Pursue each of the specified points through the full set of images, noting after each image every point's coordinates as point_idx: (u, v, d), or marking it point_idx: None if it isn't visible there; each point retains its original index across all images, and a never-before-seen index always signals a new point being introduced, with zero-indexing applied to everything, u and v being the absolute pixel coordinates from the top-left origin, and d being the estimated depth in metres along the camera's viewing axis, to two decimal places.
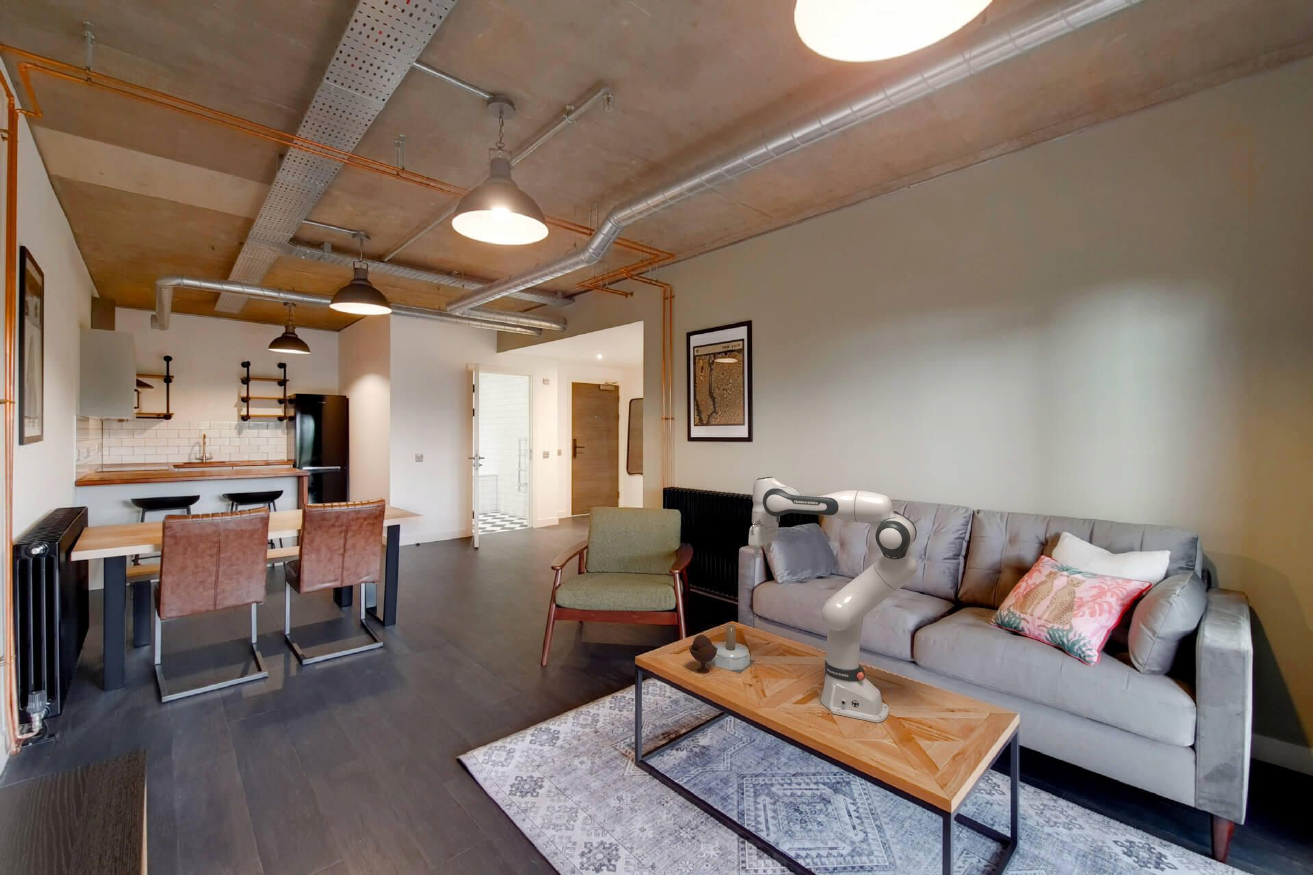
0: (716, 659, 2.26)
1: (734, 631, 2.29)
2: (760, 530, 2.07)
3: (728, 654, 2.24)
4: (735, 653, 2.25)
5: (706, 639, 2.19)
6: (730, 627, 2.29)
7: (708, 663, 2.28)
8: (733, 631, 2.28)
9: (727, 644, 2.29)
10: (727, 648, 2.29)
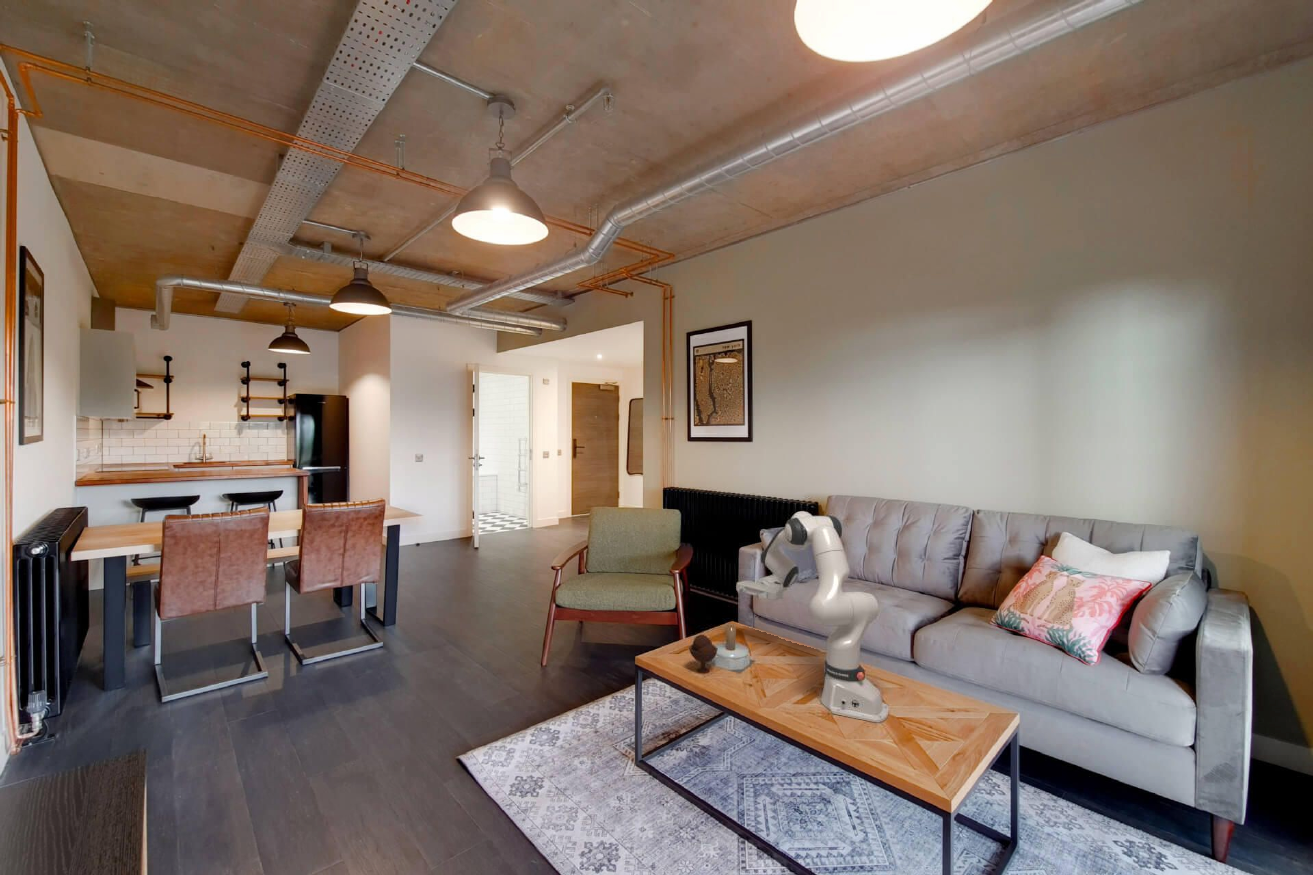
0: (716, 659, 2.26)
1: (734, 631, 2.29)
2: (748, 581, 2.51)
3: (728, 654, 2.24)
4: (735, 653, 2.25)
5: (706, 639, 2.19)
6: (730, 627, 2.29)
7: (708, 663, 2.28)
8: (733, 631, 2.28)
9: (727, 644, 2.29)
10: (727, 648, 2.29)
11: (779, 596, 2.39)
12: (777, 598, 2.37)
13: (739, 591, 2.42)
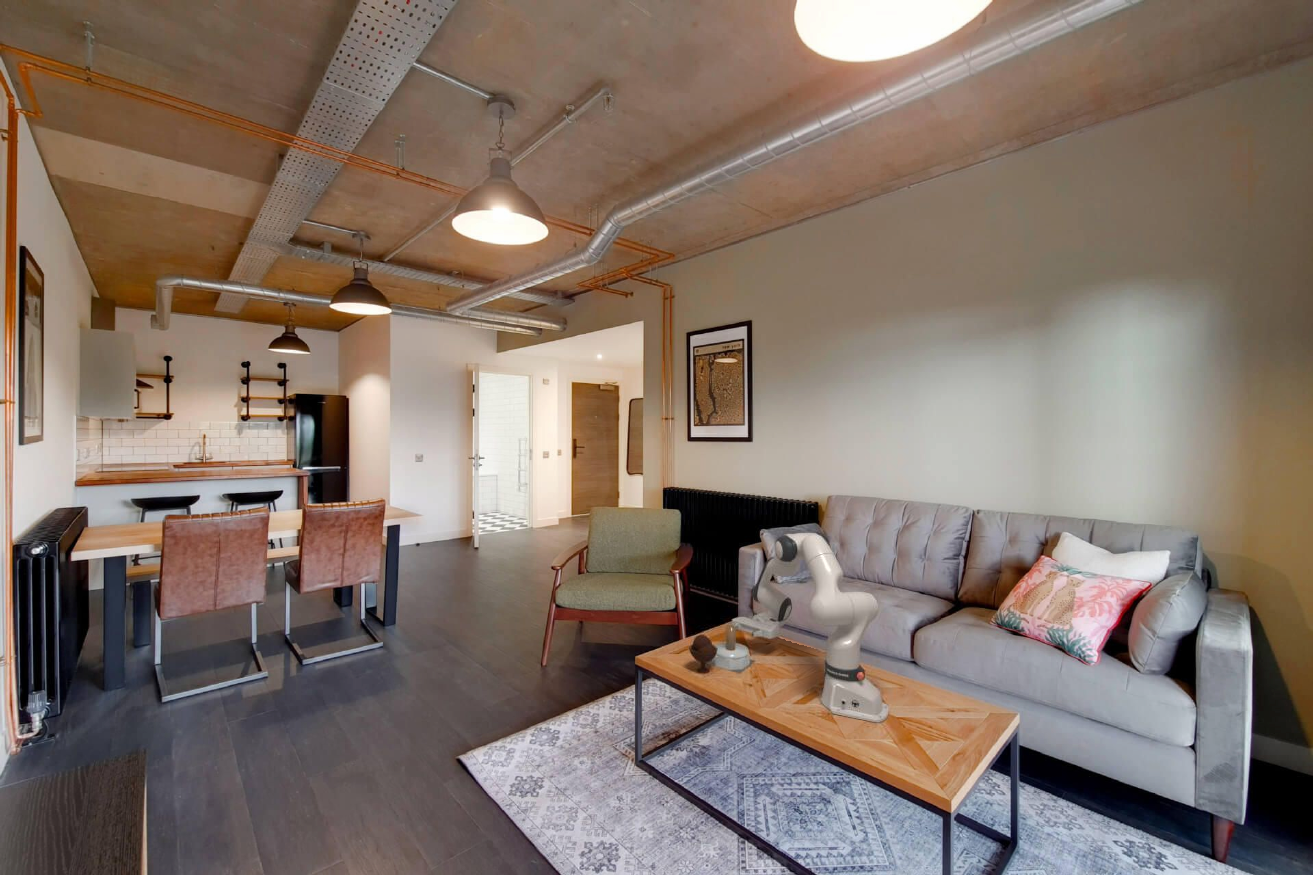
0: (716, 659, 2.26)
1: (734, 631, 2.29)
2: (744, 617, 2.49)
3: (728, 654, 2.24)
4: (735, 653, 2.25)
5: (706, 639, 2.19)
6: (730, 627, 2.29)
7: (708, 663, 2.28)
8: (733, 631, 2.28)
9: (727, 644, 2.29)
10: (727, 648, 2.29)
11: (775, 634, 2.36)
12: (773, 636, 2.35)
13: None
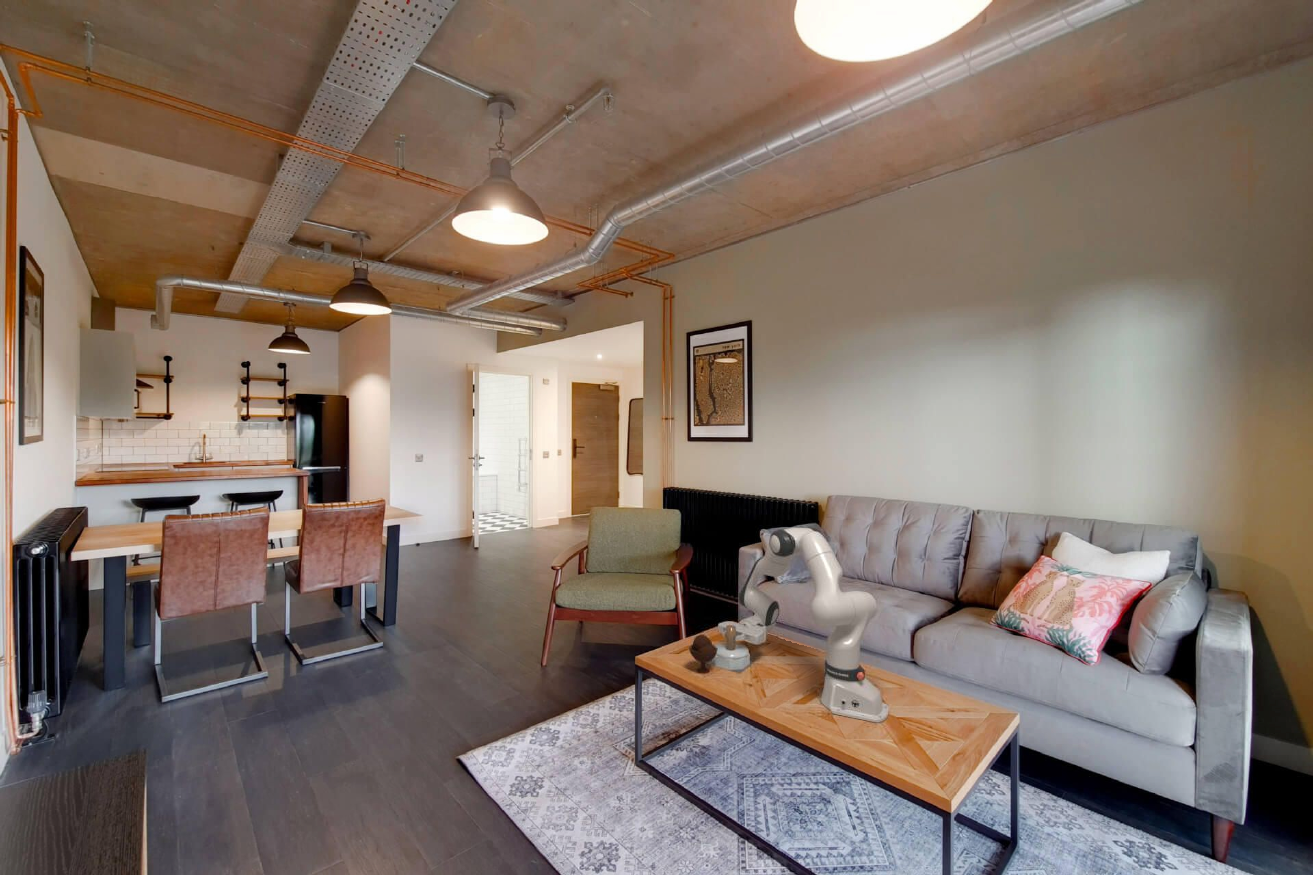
0: (716, 659, 2.26)
1: (734, 631, 2.29)
2: (730, 622, 2.42)
3: (728, 654, 2.24)
4: (735, 653, 2.25)
5: (706, 639, 2.19)
6: (730, 627, 2.29)
7: (708, 663, 2.28)
8: (733, 631, 2.28)
9: (727, 644, 2.29)
10: (727, 648, 2.29)
11: (762, 639, 2.29)
12: (759, 642, 2.28)
13: (724, 635, 2.31)
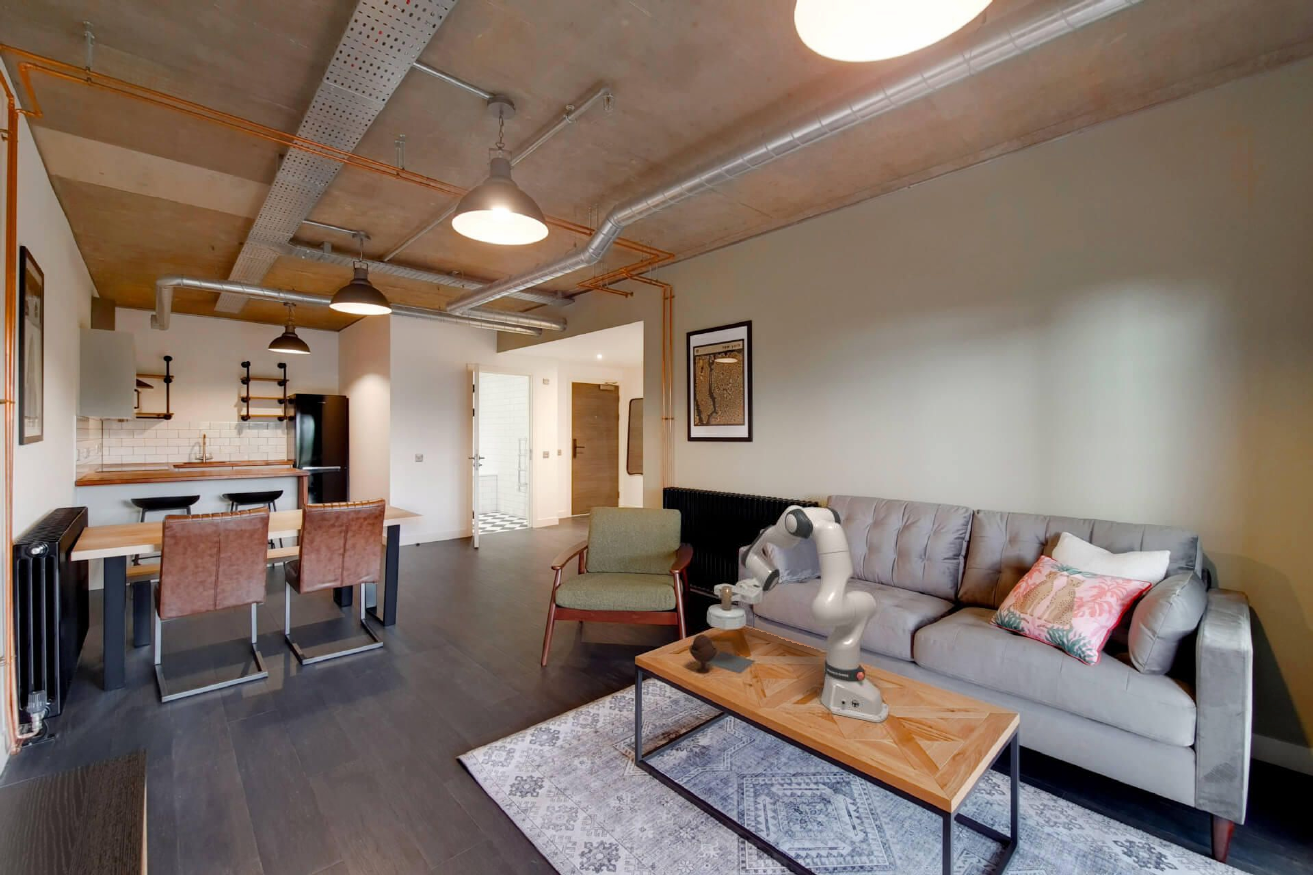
0: (712, 619, 2.24)
1: (730, 591, 2.27)
2: (727, 584, 2.40)
3: (724, 614, 2.22)
4: (731, 613, 2.23)
5: (706, 639, 2.19)
6: (726, 587, 2.27)
7: (708, 663, 2.28)
8: (729, 591, 2.26)
9: (723, 604, 2.27)
10: (723, 608, 2.27)
11: (758, 599, 2.27)
12: (755, 602, 2.26)
13: (720, 596, 2.29)
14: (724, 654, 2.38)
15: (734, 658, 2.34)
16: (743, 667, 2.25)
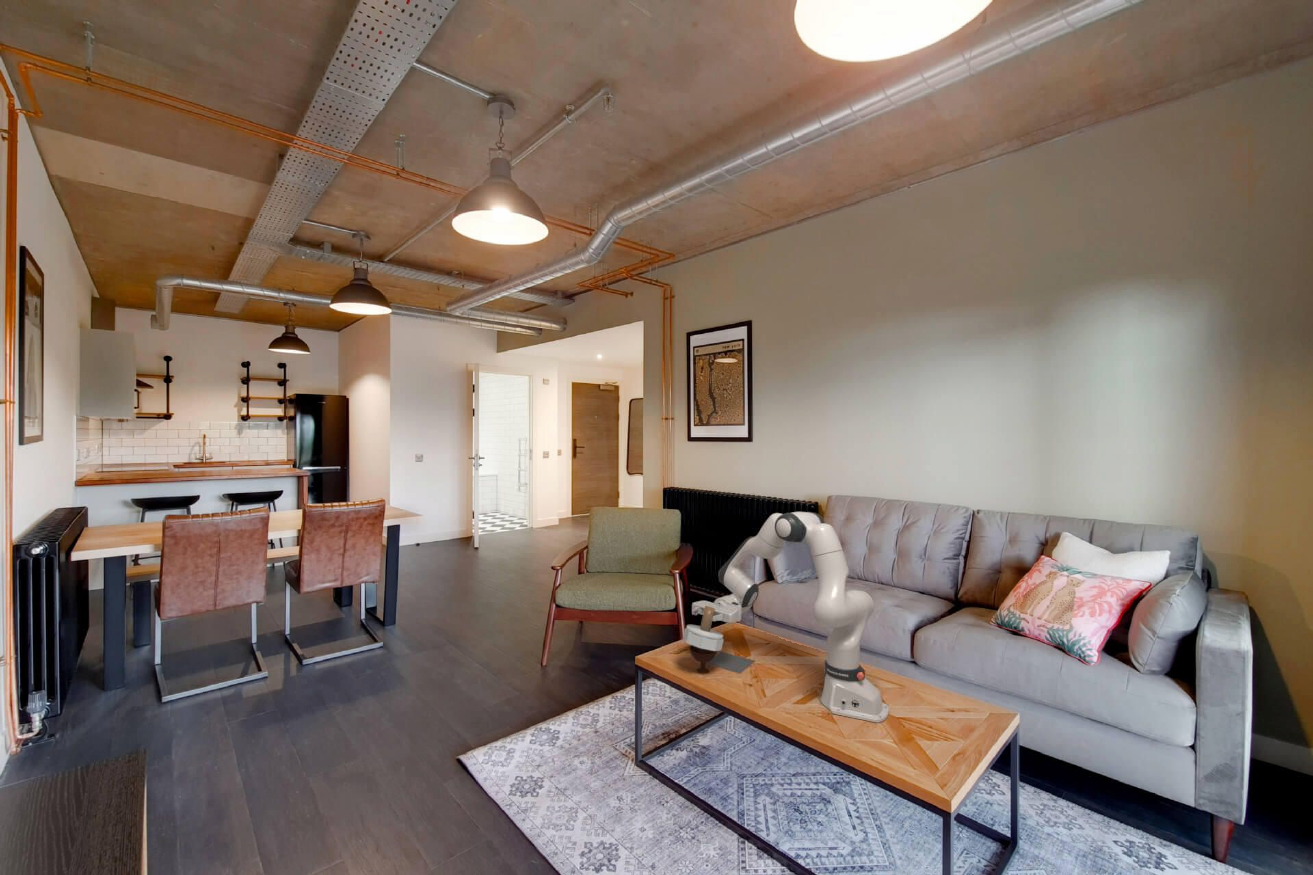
0: (689, 635, 2.17)
1: (712, 612, 2.21)
2: (705, 601, 2.33)
3: (702, 632, 2.15)
4: (710, 633, 2.16)
5: None
6: (709, 607, 2.22)
7: (708, 663, 2.28)
8: (712, 611, 2.21)
9: (702, 624, 2.20)
10: (702, 628, 2.20)
11: (736, 618, 2.20)
12: (733, 620, 2.19)
13: (693, 612, 2.24)
14: (724, 654, 2.38)
15: (734, 658, 2.34)
16: (743, 667, 2.25)
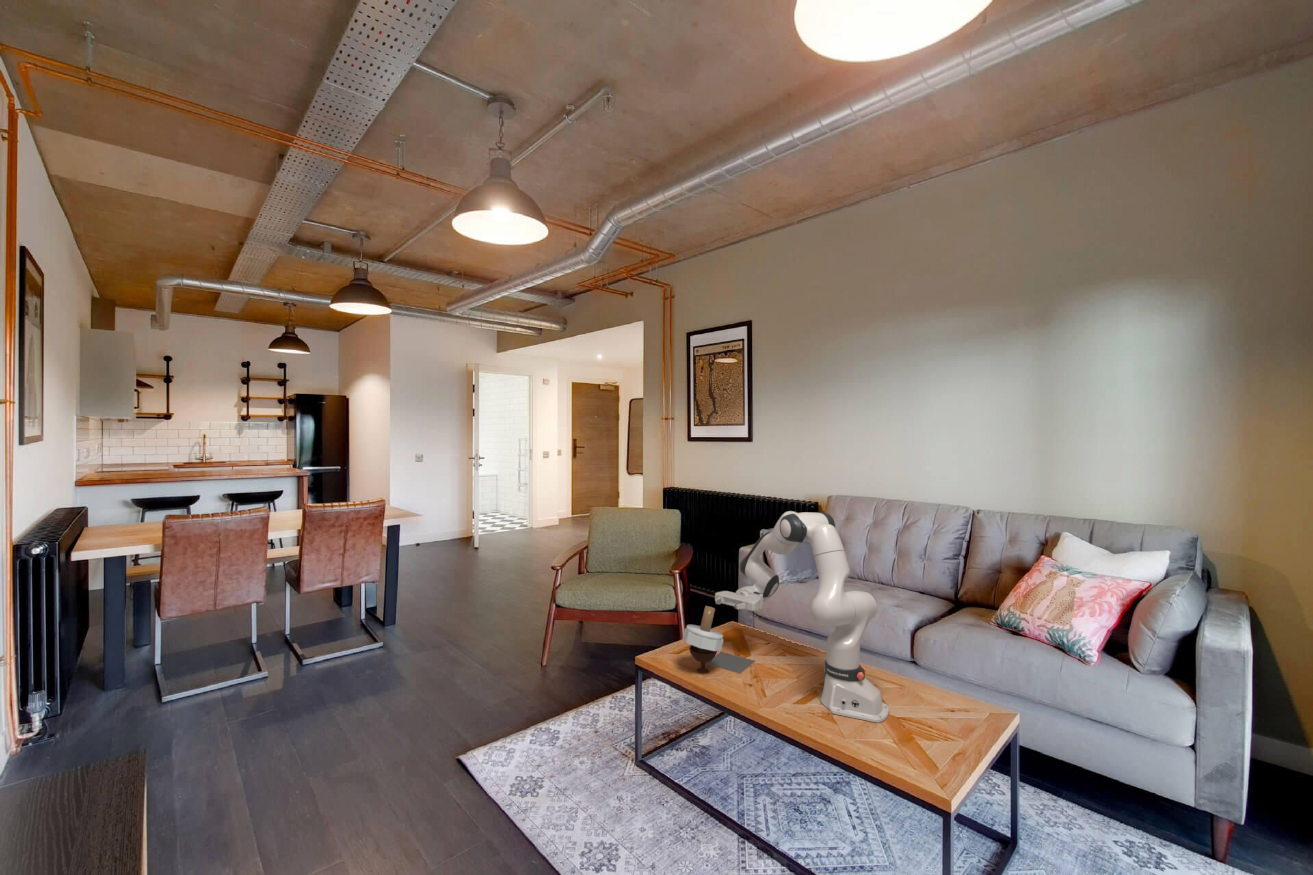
0: (689, 635, 2.17)
1: (712, 612, 2.21)
2: (727, 591, 2.43)
3: (702, 632, 2.16)
4: (710, 633, 2.16)
5: None
6: (709, 607, 2.22)
7: (708, 663, 2.28)
8: (712, 611, 2.21)
9: (703, 624, 2.20)
10: (702, 628, 2.20)
11: (759, 606, 2.30)
12: (756, 609, 2.28)
13: (717, 602, 2.33)
14: (724, 654, 2.38)
15: (734, 658, 2.34)
16: (743, 667, 2.25)
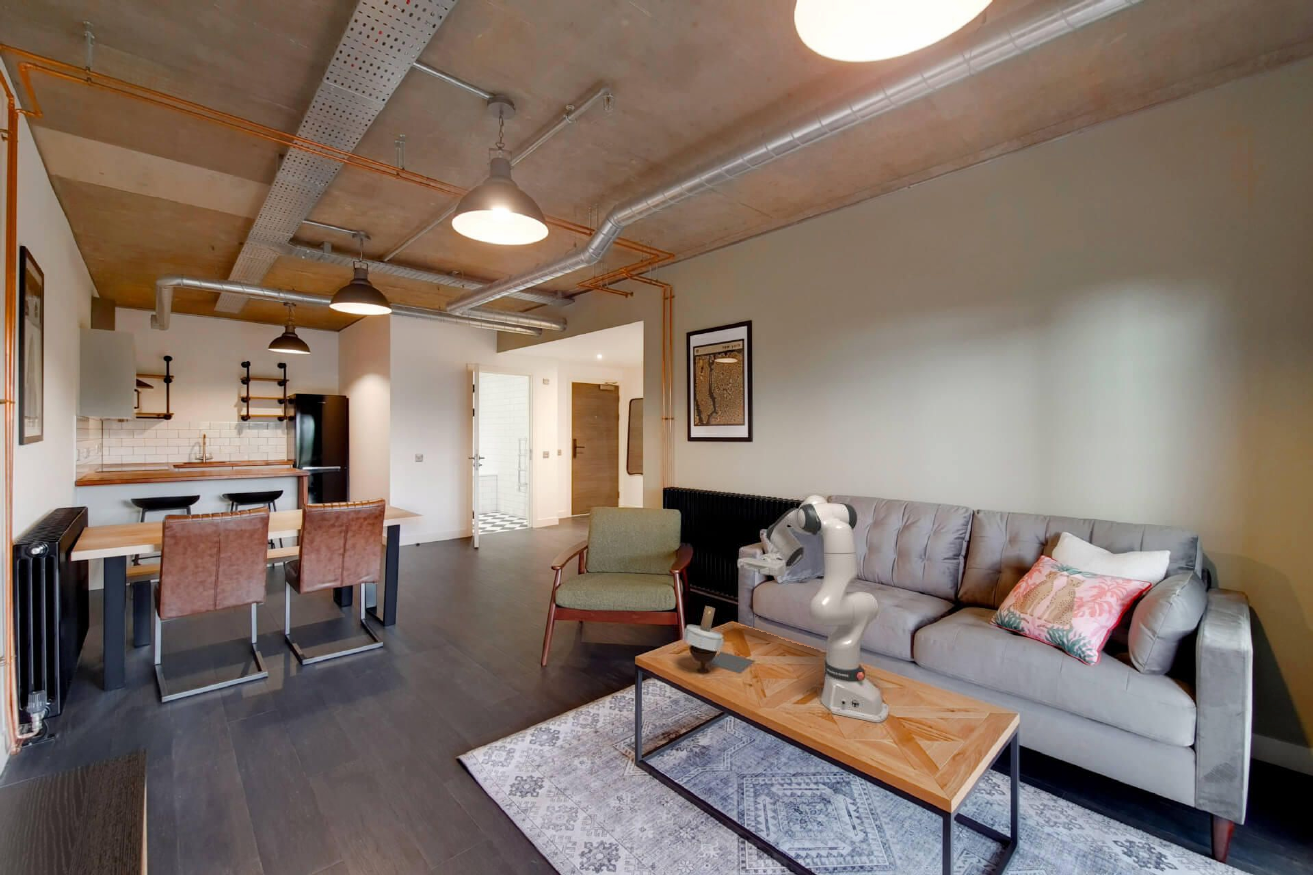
0: (689, 635, 2.17)
1: (712, 612, 2.21)
2: (750, 558, 2.45)
3: (702, 632, 2.16)
4: (710, 633, 2.16)
5: None
6: (709, 607, 2.22)
7: (708, 663, 2.28)
8: (712, 611, 2.21)
9: (703, 624, 2.20)
10: (702, 628, 2.20)
11: (782, 571, 2.32)
12: (779, 574, 2.31)
13: (740, 567, 2.36)
14: (724, 654, 2.38)
15: (734, 658, 2.34)
16: (743, 667, 2.25)
